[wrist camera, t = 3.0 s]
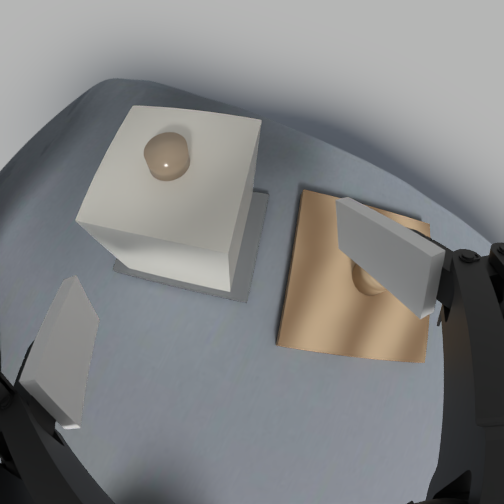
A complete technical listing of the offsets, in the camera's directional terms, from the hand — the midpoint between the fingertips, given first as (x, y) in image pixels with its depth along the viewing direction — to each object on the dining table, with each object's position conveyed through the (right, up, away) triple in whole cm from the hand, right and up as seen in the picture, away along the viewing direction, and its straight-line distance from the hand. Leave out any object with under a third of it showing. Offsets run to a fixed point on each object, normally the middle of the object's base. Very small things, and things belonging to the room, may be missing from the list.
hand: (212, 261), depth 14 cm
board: (+12, -2, +12) cm, 17 cm away
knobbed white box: (-3, +2, +12) cm, 12 cm away
